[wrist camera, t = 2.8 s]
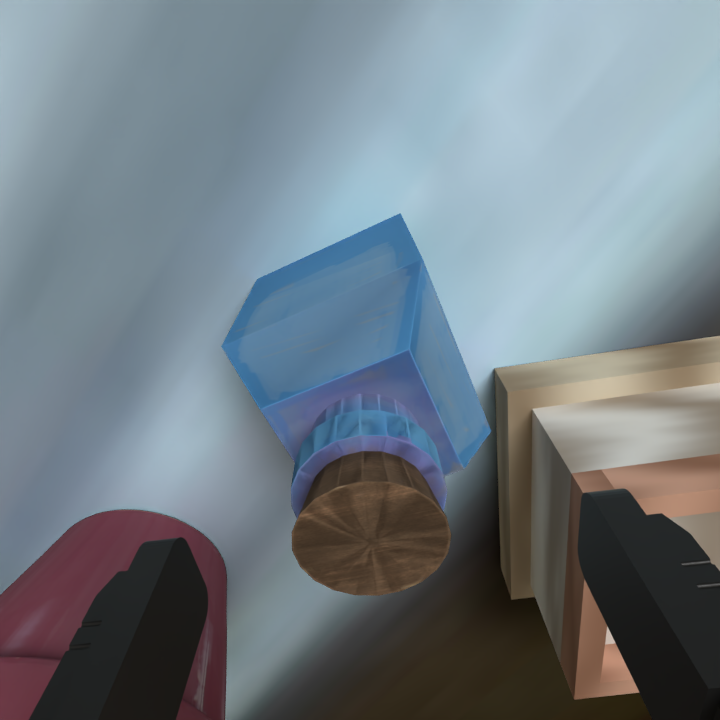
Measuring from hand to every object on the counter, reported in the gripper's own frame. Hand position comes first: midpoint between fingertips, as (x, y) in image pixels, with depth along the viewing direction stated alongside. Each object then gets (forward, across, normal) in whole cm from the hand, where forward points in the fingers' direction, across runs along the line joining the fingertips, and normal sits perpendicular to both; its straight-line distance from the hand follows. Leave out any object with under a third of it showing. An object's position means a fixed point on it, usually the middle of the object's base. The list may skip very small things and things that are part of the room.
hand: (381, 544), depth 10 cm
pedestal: (+12, -12, +10) cm, 19 cm away
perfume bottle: (+12, 0, 0) cm, 12 cm away
